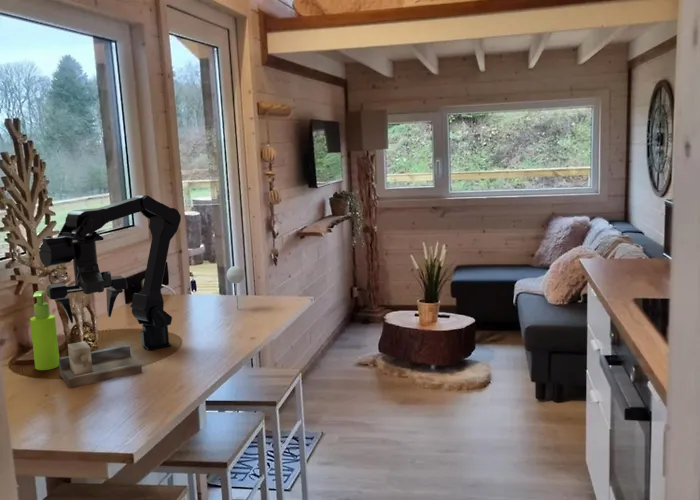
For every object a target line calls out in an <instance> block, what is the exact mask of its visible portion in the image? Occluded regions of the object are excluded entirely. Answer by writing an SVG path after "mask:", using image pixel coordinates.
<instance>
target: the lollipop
mask: <svg viewBox="0 0 700 500" xmlns="http://www.w3.org/2000/svg"><path fill="white" fill-rule="evenodd" d="M244 278H245V272H244V270H243V268H241V266H237V265H234V266H231V267H230V268H228V269H227V272H226V279H227V280H228V281H229V282H230V283H232V284H234V285H235V299H236V300H235V301H236V302H235V304H236V310H237V311H238V310H239V302H238V301H239V300H238V297H239V296H238V284H240V283H241V282H243V280H244Z"/></svg>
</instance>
